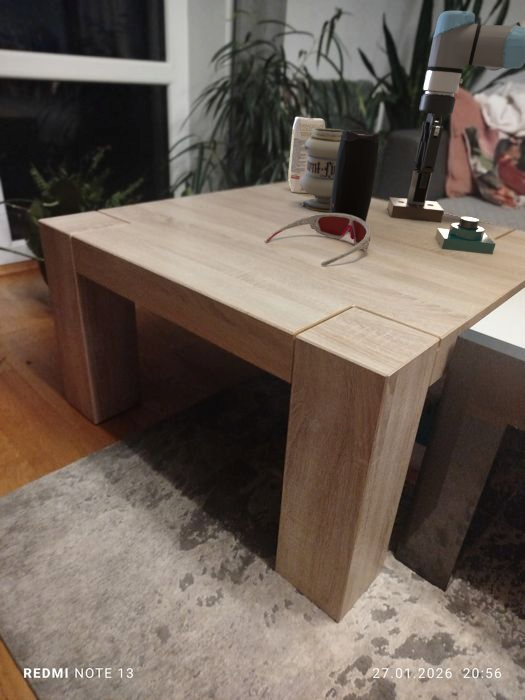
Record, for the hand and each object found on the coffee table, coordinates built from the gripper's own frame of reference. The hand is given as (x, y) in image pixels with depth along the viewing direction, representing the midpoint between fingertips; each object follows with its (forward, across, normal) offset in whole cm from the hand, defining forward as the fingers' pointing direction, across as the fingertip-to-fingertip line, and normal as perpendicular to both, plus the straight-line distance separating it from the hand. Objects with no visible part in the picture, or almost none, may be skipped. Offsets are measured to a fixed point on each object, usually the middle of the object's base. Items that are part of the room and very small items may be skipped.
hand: (416, 198), depth 124 cm
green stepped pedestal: (+4, -24, -7) cm, 25 cm away
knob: (+1, 0, 0) cm, 1 cm away
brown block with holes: (+4, 0, 0) cm, 4 cm away
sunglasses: (+4, -36, +22) cm, 42 cm away
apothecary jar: (+4, -1, +23) cm, 23 cm away
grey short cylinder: (+1, -24, -7) cm, 25 cm away
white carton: (+4, +17, +29) cm, 34 cm away
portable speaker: (+4, -18, +17) cm, 25 cm away
